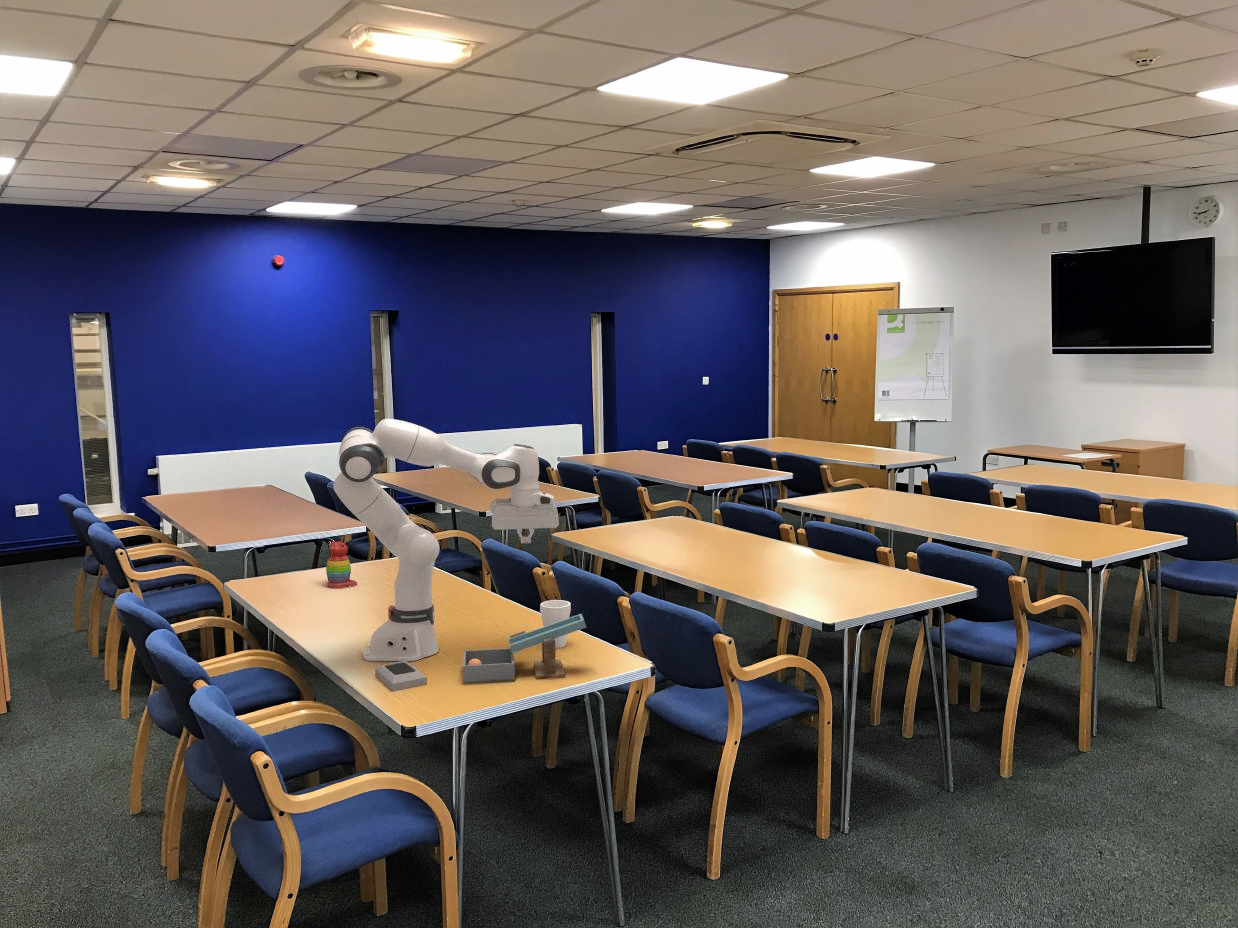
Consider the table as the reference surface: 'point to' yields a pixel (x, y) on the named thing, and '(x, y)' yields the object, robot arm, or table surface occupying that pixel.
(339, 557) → the stacking bear
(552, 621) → the foam cup
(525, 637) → the chute lever
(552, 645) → the pivot stand
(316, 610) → the table surface
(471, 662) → the ball
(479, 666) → the tray
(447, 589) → the table surface
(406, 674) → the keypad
